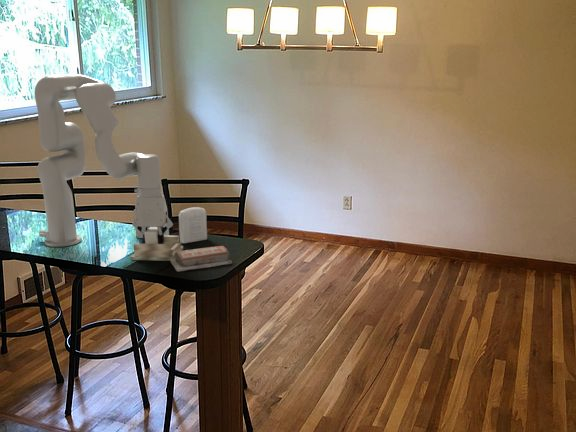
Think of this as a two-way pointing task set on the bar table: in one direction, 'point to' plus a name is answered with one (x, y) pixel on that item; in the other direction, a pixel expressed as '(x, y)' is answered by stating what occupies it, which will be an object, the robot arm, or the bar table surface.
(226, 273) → the bar table surface
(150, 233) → the white rectangular block
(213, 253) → the packaged product
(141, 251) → the beige wooden tray
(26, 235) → the bar table surface
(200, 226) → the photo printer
